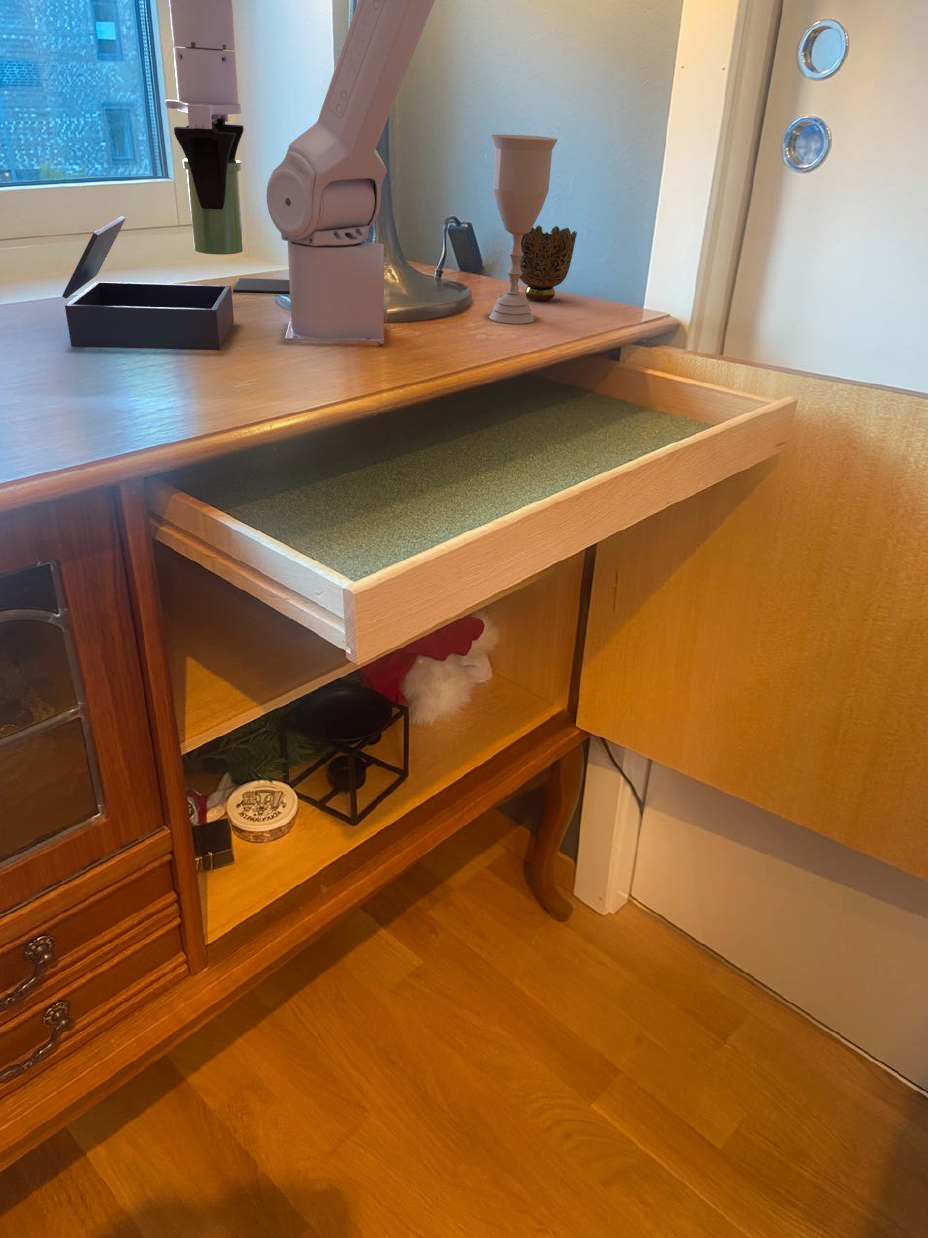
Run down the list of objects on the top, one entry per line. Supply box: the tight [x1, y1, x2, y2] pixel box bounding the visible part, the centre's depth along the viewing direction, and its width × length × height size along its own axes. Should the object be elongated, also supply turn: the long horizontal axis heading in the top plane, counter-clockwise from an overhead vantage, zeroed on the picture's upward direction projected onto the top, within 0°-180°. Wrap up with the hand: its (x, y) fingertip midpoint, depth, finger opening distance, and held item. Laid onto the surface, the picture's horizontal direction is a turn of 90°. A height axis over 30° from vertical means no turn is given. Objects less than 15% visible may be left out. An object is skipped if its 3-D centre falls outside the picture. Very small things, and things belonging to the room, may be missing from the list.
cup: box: [519, 225, 578, 302], centre depth 111 cm, size 8×7×8 cm
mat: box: [232, 277, 290, 295], centre depth 110 cm, size 7×7×1 cm
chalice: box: [488, 134, 558, 325], centre depth 99 cm, size 7×7×18 cm
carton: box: [64, 281, 235, 351], centre depth 87 cm, size 13×11×4 cm
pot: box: [182, 158, 244, 256], centre depth 95 cm, size 6×6×8 cm
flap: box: [61, 215, 127, 299], centre depth 84 cm, size 6×11×1 cm
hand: (216, 204), depth 95 cm, fingers closed on pot, 5 cm apart
